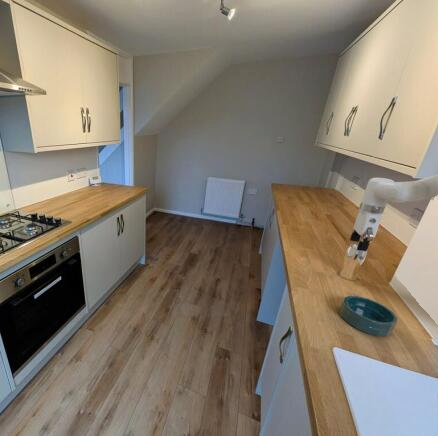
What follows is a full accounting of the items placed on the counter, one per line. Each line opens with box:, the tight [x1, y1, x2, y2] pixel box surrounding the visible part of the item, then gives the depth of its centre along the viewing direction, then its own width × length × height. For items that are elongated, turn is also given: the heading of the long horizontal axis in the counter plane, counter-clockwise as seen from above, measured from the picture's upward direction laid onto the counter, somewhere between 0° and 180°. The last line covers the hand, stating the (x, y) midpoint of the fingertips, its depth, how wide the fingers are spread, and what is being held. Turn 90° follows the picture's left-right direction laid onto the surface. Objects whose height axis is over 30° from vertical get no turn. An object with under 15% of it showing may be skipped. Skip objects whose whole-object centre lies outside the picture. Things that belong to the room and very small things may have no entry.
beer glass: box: [338, 243, 369, 281], centre depth 106 cm, size 7×7×15 cm
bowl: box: [339, 295, 398, 337], centre depth 81 cm, size 14×14×6 cm
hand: (357, 245), depth 103 cm, fingers open, 9 cm apart
